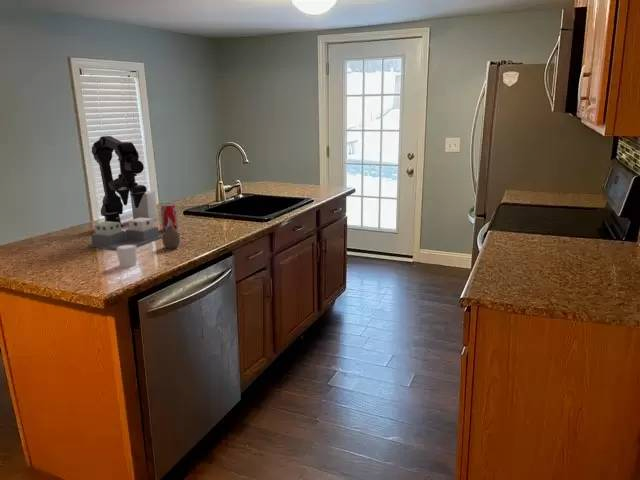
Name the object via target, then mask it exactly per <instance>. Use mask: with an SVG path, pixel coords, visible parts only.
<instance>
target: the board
mask: <svg viewBox="0 0 640 480" xmlns="http://www.w3.org/2000/svg"><path fill="white" fill-rule="evenodd" d="M90 236H91V242H90V243H88V244H87V247H88V246H89V247H88V248H95V247H97V248H98V249H103V248H104V250H111V251H112V250H113V251H117V249H116V248H117V247H118V246H121V245H136V248H139V247H141V246H144V245H147V244H150V243H152V242H155V241H157V240H160V239H161V240H162V238H163V234H159V227H158V226H154V228H152V229H149V230H146V231H134V230H130V228H128V229H126V230H121V232H120V233H116V234H113V235H110V236H105V235H96V232H95V233H93V234H91V235H90ZM97 248H96V249H97Z"/></svg>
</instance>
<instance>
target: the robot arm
mask: <svg viewBox="0 0 640 480" xmlns="http://www.w3.org/2000/svg"><path fill="white" fill-rule="evenodd" d="M113 152H114V153H115V155H116V156H117V157H118V158H117V160H118V161H119V171H120V173H118V176H117V178H115V179H114V177H113V172H112V168H111V167H112V166H111V161H112V160H113ZM91 154H92V156H93V159H94V160H95V161H96V162H97V163H98V166H99V170H100V175H101V181H102V185H103V192H104V196H103V198H102V200H101V201H102V202H101V203H102V204H101V205H102V206H101V209H100V214H101V215H100V216H102V217H104V222H107V221H110V222H120V225H121V228H122V227H124V225H123V224H122V223H121V222H122V221H121V218H120V215H123V212H124V210H123V209H124V206H128V200H129V195H130V196H131V195H132V196H133V200H134V205H135V208H138V206H139V204H140V201H141V199H142V197H143V195H144V194H145V192H147V191H148V190H147V186H145V185H143V184H138V182H136V177H137V176H138V174H141V173H142V172H143V171H144V167H145V165H144V164H143V162H142V161H141V160H139V158H140V156H139V155H140V154H139V152H138V150H137V149H136V146H135V144H133V142H132V141H122V140H119V139H116V138H115V137H114V136H113V135H112V136H111V135H103V136H100V137H99V139H98V140H97V141H95V142H94V143H93V145H92V147H91ZM118 194H119V195H118Z"/></svg>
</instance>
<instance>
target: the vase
mask: <svg viewBox="0 0 640 480" xmlns="http://www.w3.org/2000/svg"><path fill="white" fill-rule="evenodd" d="M162 235H163V238H161V240H162V243H163V246H164V247H165V248H166V249H168V250H170V249H171V250H173V249H177V248H178V247H179V246H180V243H181V236H180V233H179V231H177V229H176V230H175V229H174V227H173V226H168V227H167V229H166V230H164V232H163V234H162Z"/></svg>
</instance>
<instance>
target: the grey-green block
mask: <svg viewBox="0 0 640 480" xmlns="http://www.w3.org/2000/svg"><path fill="white" fill-rule="evenodd" d="M121 225H122V224H121ZM121 225H120V222H110V221H107V222H105V221H103V222H100V223H96V224H94V231H95V233H96V235H105V236H110V235H113V234H116V233H120V232H121V231H122V227H121Z"/></svg>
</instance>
